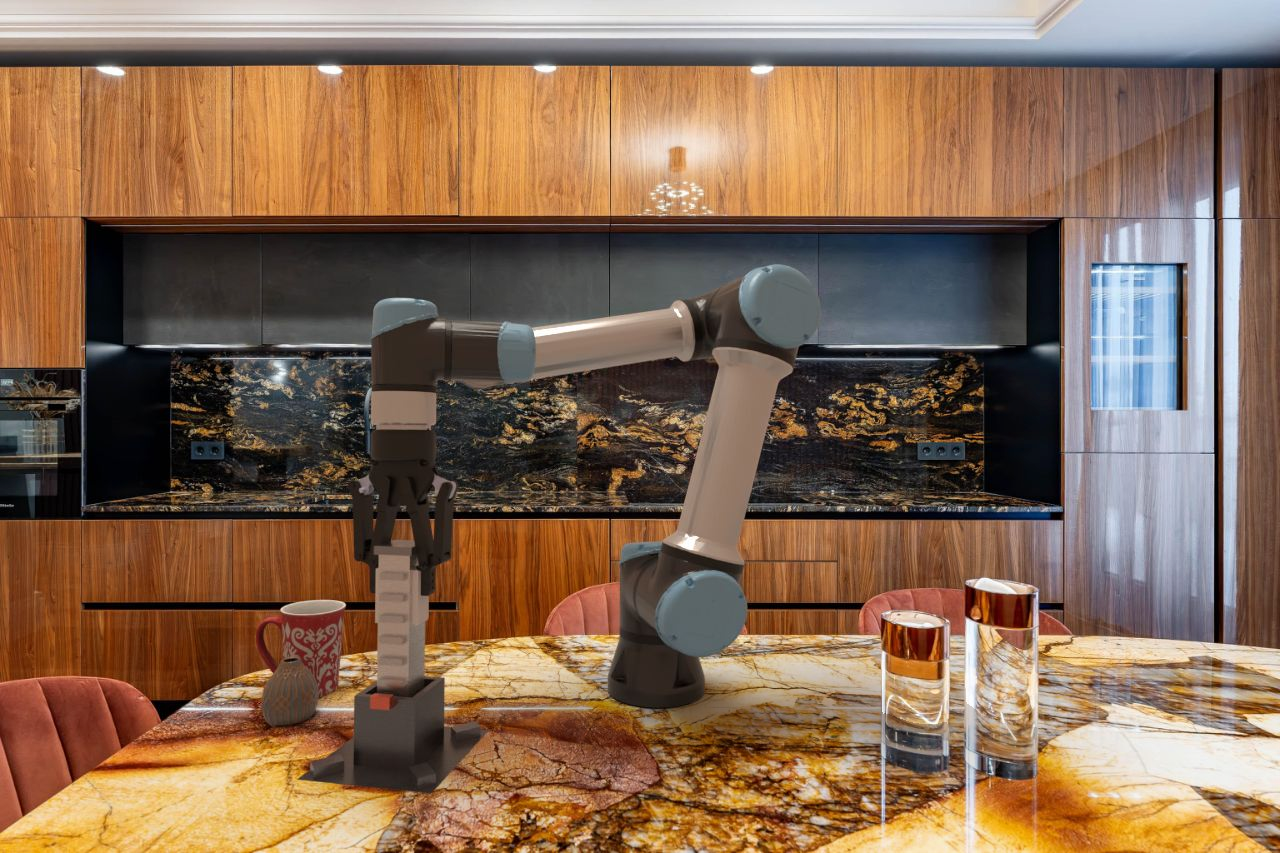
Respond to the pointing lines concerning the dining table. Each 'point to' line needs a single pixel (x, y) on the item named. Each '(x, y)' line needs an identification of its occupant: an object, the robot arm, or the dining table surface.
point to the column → (398, 622)
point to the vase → (289, 694)
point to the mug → (309, 639)
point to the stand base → (398, 742)
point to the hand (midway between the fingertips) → (402, 620)
